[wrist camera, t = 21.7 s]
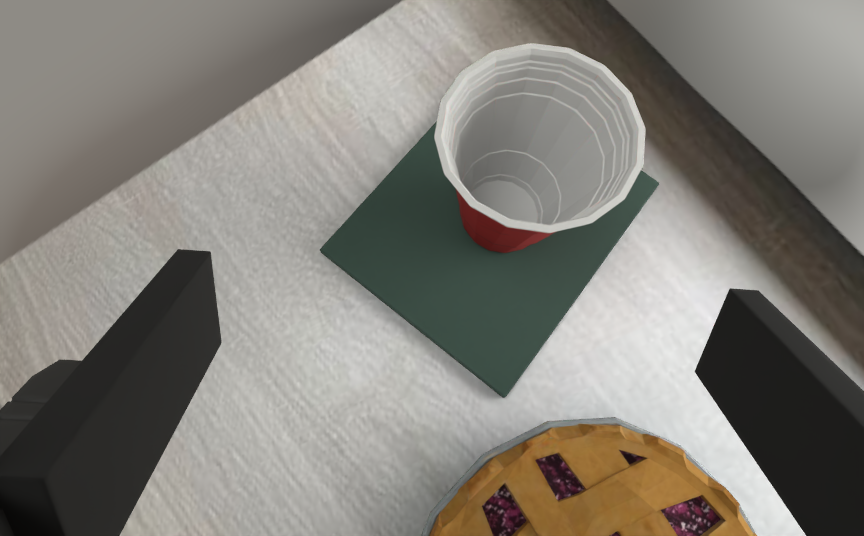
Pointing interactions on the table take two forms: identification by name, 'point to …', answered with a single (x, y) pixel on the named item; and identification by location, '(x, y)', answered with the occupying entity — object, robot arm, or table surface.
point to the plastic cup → (537, 144)
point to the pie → (587, 487)
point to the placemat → (470, 267)
